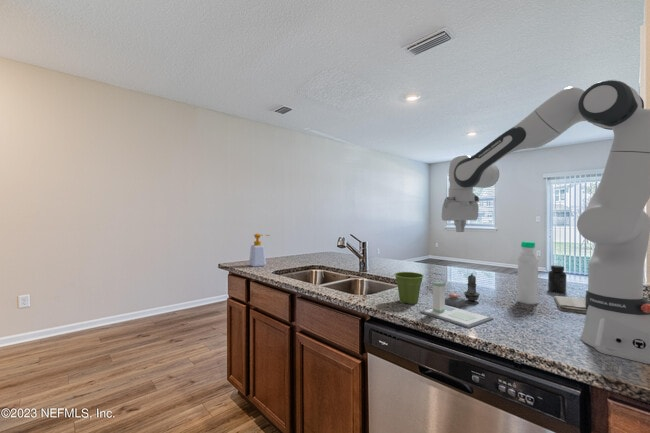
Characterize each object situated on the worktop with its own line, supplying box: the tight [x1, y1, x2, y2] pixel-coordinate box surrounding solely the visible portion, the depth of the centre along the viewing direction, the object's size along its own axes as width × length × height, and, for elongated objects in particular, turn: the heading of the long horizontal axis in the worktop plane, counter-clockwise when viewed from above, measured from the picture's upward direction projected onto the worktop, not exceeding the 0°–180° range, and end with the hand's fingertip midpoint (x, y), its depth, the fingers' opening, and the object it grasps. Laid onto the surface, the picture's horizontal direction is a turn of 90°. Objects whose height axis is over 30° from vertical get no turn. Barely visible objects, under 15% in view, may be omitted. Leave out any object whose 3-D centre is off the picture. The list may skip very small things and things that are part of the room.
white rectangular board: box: [419, 305, 494, 329], centre depth 109 cm, size 19×15×1 cm
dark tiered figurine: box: [463, 273, 480, 305], centre depth 126 cm, size 6×6×12 cm
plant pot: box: [393, 271, 425, 305], centre depth 127 cm, size 12×12×11 cm
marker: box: [431, 280, 446, 313], centre depth 112 cm, size 3×3×10 cm
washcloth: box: [553, 295, 587, 315], centre depth 120 cm, size 12×18×3 cm, turn 150°
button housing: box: [445, 295, 466, 308], centre depth 122 cm, size 6×6×2 cm
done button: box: [448, 292, 460, 300], centre depth 122 cm, size 4×4×4 cm
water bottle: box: [516, 240, 539, 305], centre depth 126 cm, size 7×7×25 cm
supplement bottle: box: [547, 265, 567, 294], centre depth 144 cm, size 7×7×12 cm
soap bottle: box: [248, 233, 270, 268], centre depth 214 cm, size 10×14×22 cm
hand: (460, 231), depth 123 cm, fingers closed
